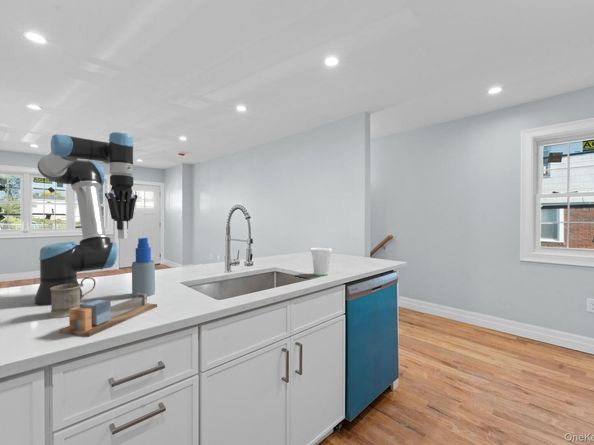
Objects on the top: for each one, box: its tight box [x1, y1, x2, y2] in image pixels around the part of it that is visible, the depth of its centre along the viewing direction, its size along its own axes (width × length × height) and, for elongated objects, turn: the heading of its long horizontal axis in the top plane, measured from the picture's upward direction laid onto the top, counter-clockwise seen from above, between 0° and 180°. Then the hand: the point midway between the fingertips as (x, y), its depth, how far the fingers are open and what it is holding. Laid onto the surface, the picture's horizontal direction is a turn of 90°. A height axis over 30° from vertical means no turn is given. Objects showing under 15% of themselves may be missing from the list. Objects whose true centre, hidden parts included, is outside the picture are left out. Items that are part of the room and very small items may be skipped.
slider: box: [80, 299, 111, 325], centre depth 93 cm, size 6×5×6 cm
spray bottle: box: [131, 237, 156, 298], centre depth 128 cm, size 9×9×25 cm
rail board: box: [59, 293, 158, 337], centre depth 99 cm, size 11×28×7 cm, turn 166°
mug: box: [47, 275, 96, 319], centre depth 106 cm, size 14×10×12 cm
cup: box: [310, 247, 333, 277], centre depth 172 cm, size 12×12×15 cm
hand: (122, 238), depth 110 cm, fingers closed
